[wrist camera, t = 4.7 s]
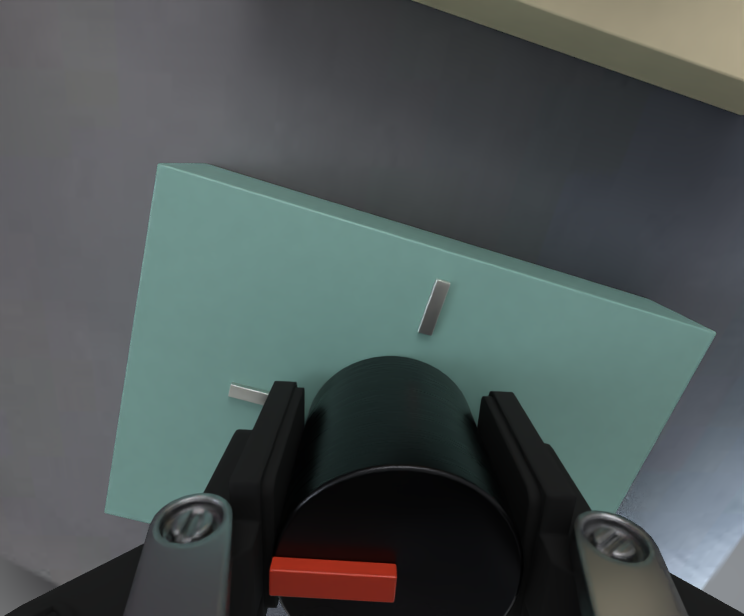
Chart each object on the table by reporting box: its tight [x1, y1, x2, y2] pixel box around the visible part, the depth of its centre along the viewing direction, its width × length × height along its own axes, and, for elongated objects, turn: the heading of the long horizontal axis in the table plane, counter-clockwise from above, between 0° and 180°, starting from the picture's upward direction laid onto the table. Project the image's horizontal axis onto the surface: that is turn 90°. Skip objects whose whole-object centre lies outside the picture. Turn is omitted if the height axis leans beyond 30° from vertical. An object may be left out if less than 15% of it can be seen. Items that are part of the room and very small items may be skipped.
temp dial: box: [269, 356, 524, 616], centre depth 10 cm, size 4×4×5 cm
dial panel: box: [105, 163, 716, 524], centre depth 14 cm, size 14×10×3 cm
